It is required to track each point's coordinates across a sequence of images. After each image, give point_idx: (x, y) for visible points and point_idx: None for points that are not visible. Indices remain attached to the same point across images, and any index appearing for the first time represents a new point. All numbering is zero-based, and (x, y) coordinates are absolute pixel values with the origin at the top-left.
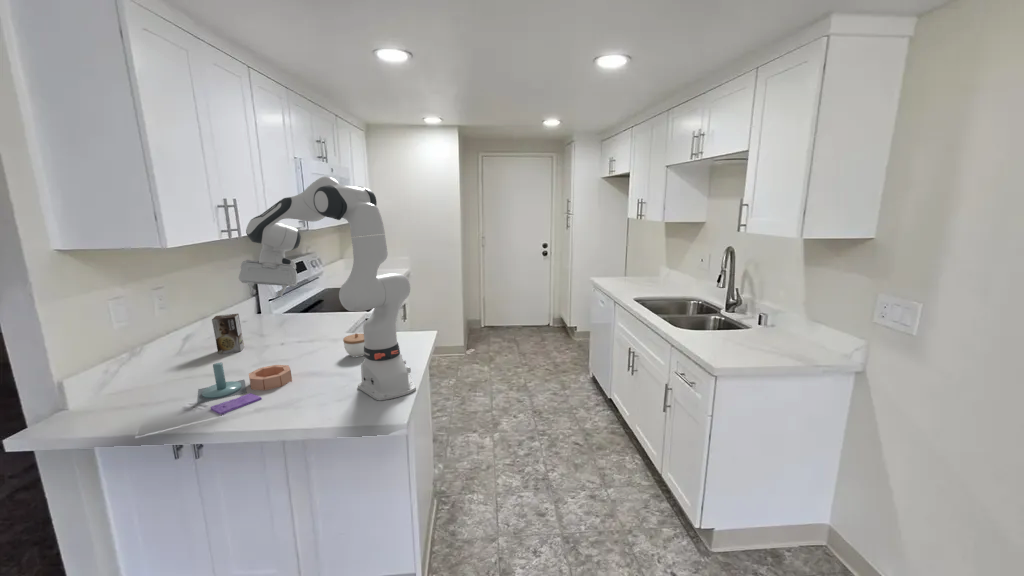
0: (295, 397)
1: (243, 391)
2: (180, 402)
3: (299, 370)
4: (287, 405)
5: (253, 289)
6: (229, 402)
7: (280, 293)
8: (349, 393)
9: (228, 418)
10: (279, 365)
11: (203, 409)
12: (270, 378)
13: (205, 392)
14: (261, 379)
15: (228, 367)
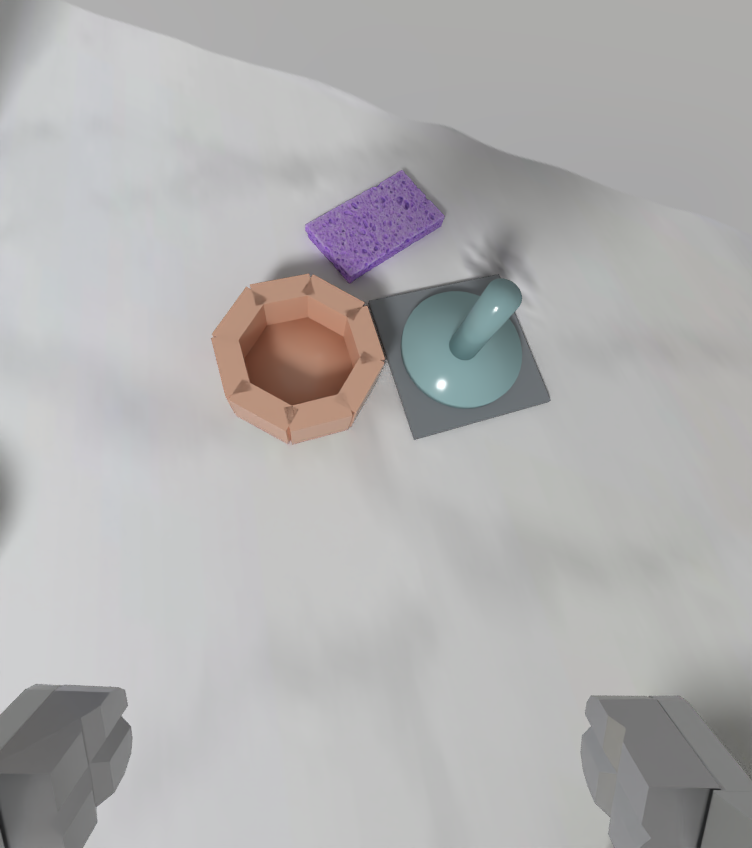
0: (196, 211)
1: (383, 315)
2: (559, 321)
3: (200, 478)
4: (216, 165)
5: (677, 776)
6: (398, 228)
7: (31, 708)
8: (2, 164)
9: (374, 157)
10: (269, 413)
11: (466, 242)
12: (284, 279)
13: (505, 330)
14: (317, 277)
15: (539, 646)
